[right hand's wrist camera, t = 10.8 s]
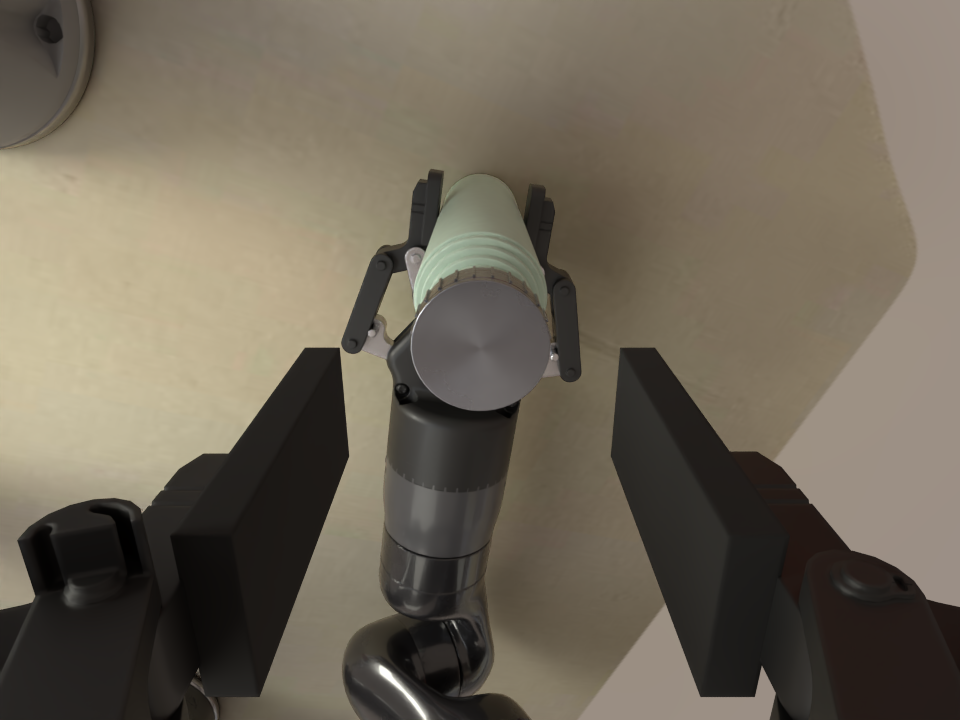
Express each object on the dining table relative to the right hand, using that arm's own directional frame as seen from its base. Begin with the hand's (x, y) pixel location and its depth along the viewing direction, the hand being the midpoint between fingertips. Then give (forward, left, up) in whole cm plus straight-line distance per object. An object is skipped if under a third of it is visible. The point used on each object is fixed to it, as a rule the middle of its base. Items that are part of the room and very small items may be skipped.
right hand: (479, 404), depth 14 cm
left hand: (+2, +2, -21) cm, 21 cm away
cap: (0, 0, -4) cm, 4 cm away
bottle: (0, 0, -28) cm, 28 cm away
